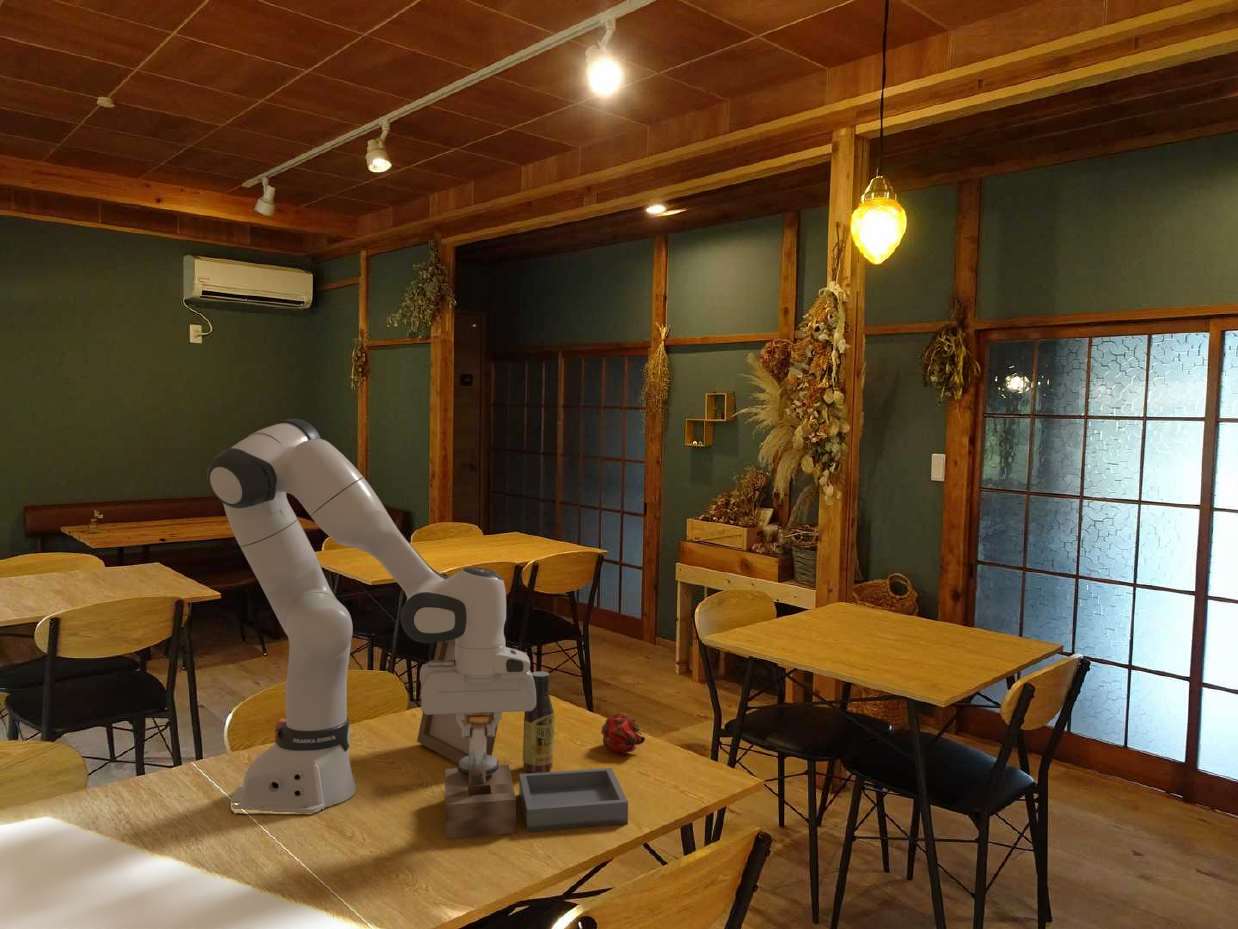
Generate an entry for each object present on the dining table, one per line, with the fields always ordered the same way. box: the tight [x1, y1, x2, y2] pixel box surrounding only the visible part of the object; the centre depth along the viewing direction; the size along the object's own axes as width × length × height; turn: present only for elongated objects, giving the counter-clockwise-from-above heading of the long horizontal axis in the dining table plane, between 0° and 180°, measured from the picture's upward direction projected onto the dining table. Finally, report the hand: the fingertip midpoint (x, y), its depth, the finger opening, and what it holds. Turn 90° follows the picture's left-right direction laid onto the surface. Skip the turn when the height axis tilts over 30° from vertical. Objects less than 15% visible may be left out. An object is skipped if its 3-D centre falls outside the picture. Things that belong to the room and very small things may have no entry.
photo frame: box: [416, 639, 499, 764], centre depth 195 cm, size 15×22×25 cm
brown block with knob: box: [444, 755, 517, 840], centre depth 164 cm, size 12×16×9 cm
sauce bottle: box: [522, 671, 555, 773], centre depth 186 cm, size 6×6×20 cm
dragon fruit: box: [600, 712, 646, 756], centre depth 197 cm, size 8×8×12 cm
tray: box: [518, 767, 629, 833], centre depth 168 cm, size 18×16×4 cm
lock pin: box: [466, 713, 491, 785], centre depth 161 cm, size 4×4×12 cm
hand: (478, 736), depth 161 cm, fingers closed on lock pin, 3 cm apart
